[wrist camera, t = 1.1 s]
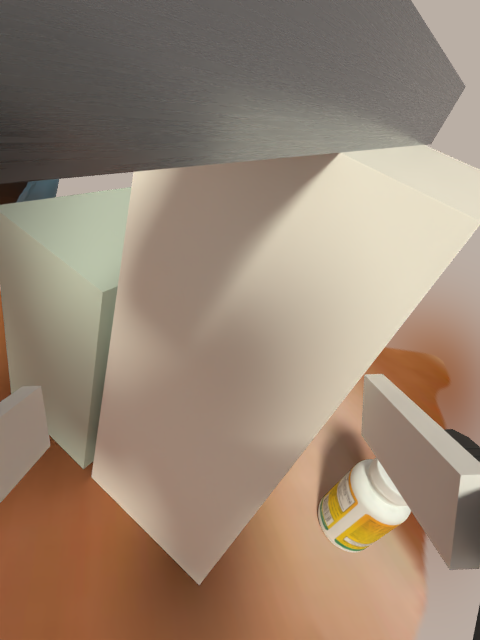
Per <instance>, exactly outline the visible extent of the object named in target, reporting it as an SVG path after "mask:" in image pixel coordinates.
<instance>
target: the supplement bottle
mask: <svg viewBox="0 0 480 640" xmlns="http://www.w3.org/2000/svg"><path fill="white" fill-rule="evenodd" d="M410 512H411V510H410V508H409V507H408V505H407V504H406V502H405V500H404V499H403V497H402V496H401V494H400V493H399V491H398V490H397V488H396V487H395V485H394V484H393V482H392V481H391V479H390V477H389V476H388V474H387V473H386V471H385V470H384V468H383V467H382V465H381V464H380V462H379V461H378V459H377V457H376V458H375V459H374V460H372V459H368V460H363V461H361V462H359V463H357V464H356V465H355V466H354V467H353V468H352V469H351V470H350V471H349V472H348V473H347V474H346V475H345V476H344V477H343V478H342V479H341V480H340V481H339V482H338V483H337V484H336V485H335V486H334V487H333V488H332V489H331V490H330V491H329V492H328V493H327V494H326V495H325V496H324V497H323V498H322V500H321V501H320V504H319V508H318V518H319V522H320V526H321V528H322V530H323V532H324V534H325V535H326V537H327V538H328V539H329V540H330V541H331V542H332V543H333V544H334V545H335V546H337V547H338V548H340V549H342V550H344V551H347V552H360V551H362V550H364V549H365V548H367V547H368V546H370V545H371V544H372V543H374V542H375V541H377V540H378V539H379V538H381V537H382V536H384V535H385V534H387V533H388V532H389V531H391V530H392V529H394V528H395V527H397V526H398V525H400V524H401V523H403V522H404V521H405V520H406V519H407V518H408V516H409V514H410Z"/></svg>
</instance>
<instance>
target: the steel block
mask: <svg viewBox="0 0 480 640" xmlns="http://www.w3.org/2000/svg"><path fill="white" fill-rule="evenodd" d="M464 88H465V85H464V83H463V82H462V80H461V79H460V77H459V75H458V74H457V72H456V71H455V69H454V68H453V66H452V64H451V63H450V61H449V60H448V58H447V57H446V55H445V53H444V52H443V50H442V49H441V47H440V46H439V44H438V42H437V41H436V39H435V38H434V36H433V34H432V33H431V31H430V30H429V28H428V27H427V25H426V23H425V22H424V20H423V19H422V17H421V15H420V14H419V12H418V11H417V9H416V8H415V6H414V4H413V3H412V1H411V0H0V184H8V183H18V182H29V181H40V180H51V179H61V178H72V177H83V176H94V175H104V174H114V173H126V172H137V171H147V170H158V169H169V168H180V167H190V166H201V165H212V164H223V163H233V162H244V161H255V160H266V159H276V158H287V157H298V156H309V155H319V154H330V153H341V152H351V151H362V150H373V149H384V148H394V147H405V146H416V145H427V144H431V143H432V142H433V140H434V138H435V137H436V135H437V133H438V132H439V130H440V128H441V127H442V125H443V123H444V121H445V120H446V118H447V117H448V115H449V113H450V112H451V110H452V109H453V107H454V105H455V103H456V102H457V100H458V99H459V97H460V95H461V94H462V92H463V90H464Z"/></svg>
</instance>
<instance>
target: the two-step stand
mask: <svg viewBox="0 0 480 640" xmlns="http://www.w3.org/2000/svg"><path fill="white" fill-rule="evenodd" d="M479 225H480V169H477V168H475V167H473V166H471V165H469V164H466V163H464V162H462V161H460V160H457V159H455V158H452V157H451V156H448V155H446V154H444V153H441V152H439V151H437V150H435V149H433V148H430V147H428V146H426V145H416V146H405V147H394V148H384V149H373V150H362V151H351V152H341V153H330V154H319V155H309V156H298V157H287V158H276V159H266V160H255V161H244V162H233V163H223V164H212V165H201V166H190V167H180V168H169V169H158V170H147V171H137V172H134V173H133V181H132V187H130V188H122V189H115V190H107V191H99V192H92V193H85V194H78V195H70V196H62V197H55V198H47V199H40V200H33V201H25V202H18V203H10V204H3V205H0V287H1V297H2V307H3V317H4V327H5V337H6V347H7V357H8V367H9V377H10V387H11V394H12V393H14V392H15V391H17V390H18V389H19V388H21V387H22V386H41V389H42V395H43V401H44V408H45V414H46V420H47V427H48V433H49V435H50V436H51V437H52V438H53V439H54V440H55V441H56V442H57V443H58V444H59V445H60V446H61V447H62V448H63V449H64V450H65V451H66V452H67V453H68V454H69V455H70V456H71V457H72V458H73V459H74V460H75V461H76V462H77V463H78V464H79V465H80V466H81V467H82V468H83V469H84V468H86V467H87V466H88V465H89V464H91V463H92V462H93V461H94V462H93V469H92V476H91V477H92V478H93V479H94V480H95V481H96V482H97V483H98V484H99V485H100V486H101V487H102V488H103V489H104V490H105V491H106V492H107V493H108V494H109V495H110V496H111V497H112V498H113V499H114V500H115V501H116V502H117V503H118V504H119V505H120V506H121V507H122V508H123V509H124V510H125V511H126V512H127V513H128V514H129V515H130V516H131V517H132V518H133V519H134V520H135V521H136V522H137V523H138V524H139V525H140V526H141V527H142V528H143V529H144V530H145V531H146V532H147V533H148V534H149V535H150V536H151V537H152V538H153V539H154V540H155V541H156V542H157V543H158V544H159V545H160V546H161V547H162V548H163V549H164V550H165V551H166V552H167V553H168V554H169V555H170V556H171V557H172V558H173V559H174V560H175V561H176V563H177V564H178V565H179V566H180V567H181V568H182V569H183V570H184V571H185V572H186V573H187V574H188V575H189V576H190V577H191V578H192V579H193V580H194V581H195V582H196V583H197V584H198V585H200V584H201V582H202V581H203V580H204V579H205V577H206V576H207V575H208V573H209V572H210V571H211V570H212V568H213V567H214V566H215V564H216V563H217V562H218V561H219V559H220V558H221V557H222V555H223V554H224V553H225V552H226V550H227V549H228V548H229V546H230V545H231V544H232V543H233V541H234V540H235V539H236V537H237V536H238V535H239V534H240V532H241V531H242V530H243V528H244V527H245V526H246V525H247V523H248V522H249V521H250V519H251V518H252V517H253V516H254V514H255V513H256V512H257V510H258V509H259V508H260V507H261V505H262V504H263V503H264V502H265V500H266V499H267V498H268V496H269V495H270V494H271V493H272V491H273V490H274V489H275V487H276V486H277V485H278V484H279V482H280V481H281V480H282V478H283V477H284V476H285V475H286V473H287V472H288V471H289V469H290V468H291V467H292V466H293V464H294V463H295V462H296V460H297V459H298V458H299V457H300V455H301V454H302V453H303V451H304V450H305V449H306V448H307V446H308V445H309V444H310V442H311V441H312V440H313V439H314V437H315V436H316V435H317V433H318V432H319V431H320V430H321V428H322V427H323V426H324V424H325V423H326V422H327V421H328V419H329V418H330V417H331V415H332V414H333V413H334V412H335V410H336V409H337V408H338V406H339V405H340V404H341V403H342V401H343V400H344V399H345V398H346V396H347V395H348V394H349V392H350V391H351V390H352V389H353V387H354V386H355V385H356V383H357V382H358V381H359V380H360V378H361V377H362V376H363V374H364V373H365V372H366V371H367V369H368V368H369V367H370V365H371V364H372V363H373V362H374V360H375V359H376V358H377V356H378V355H379V354H380V353H381V351H382V350H383V349H384V347H385V346H386V345H387V344H388V342H389V341H390V340H391V338H392V337H393V336H394V335H395V333H396V332H397V331H398V329H399V328H400V327H401V326H402V324H403V323H404V322H405V320H406V319H407V318H408V317H409V315H410V314H411V313H412V311H413V310H414V309H415V308H416V306H417V305H418V304H419V302H420V301H421V300H422V299H423V297H424V296H425V295H426V293H427V292H428V291H429V290H430V288H431V287H432V286H433V284H434V283H435V282H436V281H437V279H438V278H439V277H440V275H441V274H442V273H443V271H444V270H445V269H446V268H447V267H448V265H449V264H450V263H451V261H452V260H453V259H454V257H455V256H456V255H457V254H458V252H459V251H460V250H461V249H462V247H463V246H464V245H465V243H466V242H467V241H468V240H469V238H470V237H471V235H472V234H473V233H474V232H475V231H476V229H477V228H478V227H479Z"/></svg>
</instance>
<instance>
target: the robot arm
mask: <svg viewBox="0 0 480 640" xmlns="http://www.w3.org/2000/svg"><path fill="white" fill-rule="evenodd" d="M58 182H59V179H51V180H40V181H29V182H18V183H8V184H0V205H3V204H10V203H18V202H25V201H33V200H40V199H47V198H55V197H56V193H57V188H58ZM362 436H363V438H364V439H365V441H366V442H367V444H368V445H369V447H370V448H371V450H372V451H373V453H374V454H375V456H376V457H377V459H378V461H379V462H380V464H381V465H382V467H383V468H384V470H385V471H386V473H387V474H388V476H389V477H390V479H391V481H392V482H393V484H394V485H395V487H396V488H397V490H398V491H399V493H400V494H401V496H402V497H403V499H404V500H405V502H406V504H407V505H408V507H409V508H410V510H411V511H412V513H413V514H414V516H415V517H416V519H417V520H418V522H419V524H420V525H421V527H422V528H423V530H424V531H425V533H426V534H427V536H428V537H429V539H430V540H431V542H432V543H433V545H434V547H435V548H436V550H437V551H438V553H439V554H440V556H441V557H442V559H443V560H444V562H445V563H446V565H447V566H448V568H449V570H456V569H479V567H480V447H479V446H478V445H477V444H475V443H474V442H473V441H472V440H471V439H470V438H469V437H467V436H464V435H463V434H461V433H459V432H457V431H455V430H453V429H446V430H443V429H442V428H441V427H440V426H439V425H438V424H437V423H436V422H435V421H434V420H433V419H431V418H430V417H429V416H428V415H427V414H426V413H425V412H424V411H423V410H422V409H420V408H419V407H418V406H417V405H416V404H415V403H414V402H413V401H412V400H411V399H409V398H408V397H407V396H406V395H405V394H404V393H403V392H402V391H401V390H400V389H398V388H397V387H396V386H395V385H394V384H393V383H392V382H391V381H390V380H389V379H387V378H386V377H385V376H384V375H383V374H370V375H364V393H363V413H362ZM49 447H50V439H49V433H48V427H47V420H46V414H45V408H44V401H43V395H42V389H41V386H22V387H21V388H19V389H18V390H17V391H15V392H14V393H12V394H11V395H9V396H8V397H7V398H5V399H4V400H2V401H1V402H0V503H1V502H2V501H3V499H4V498H5V497H6V496H7V495H8V494H9V493H10V491H11V490H12V489H13V488H14V487H15V486H16V485H17V483H18V482H19V481H20V480H21V479H22V478H23V477H24V475H25V474H26V473H27V472H28V471H29V470H30V469H31V467H32V466H33V465H34V464H35V463H36V462H37V461H38V460H39V458H40V457H41V456H42V455H43V454H44V453H45V452H46V450H47V449H48V448H49ZM473 640H480V606H479V612H478V616H477V621H476V627H475V632H474V637H473Z"/></svg>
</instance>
